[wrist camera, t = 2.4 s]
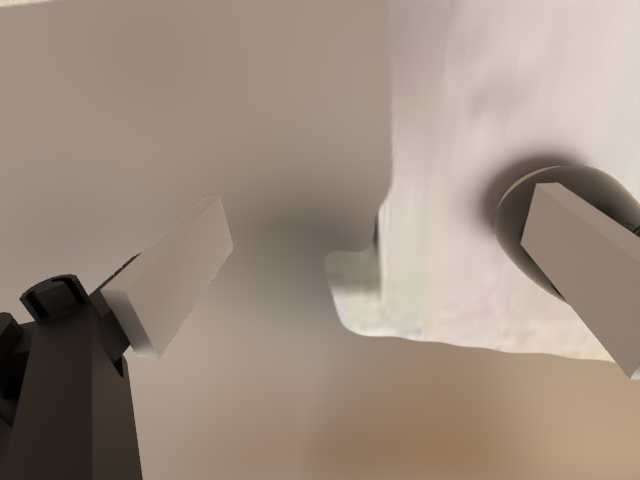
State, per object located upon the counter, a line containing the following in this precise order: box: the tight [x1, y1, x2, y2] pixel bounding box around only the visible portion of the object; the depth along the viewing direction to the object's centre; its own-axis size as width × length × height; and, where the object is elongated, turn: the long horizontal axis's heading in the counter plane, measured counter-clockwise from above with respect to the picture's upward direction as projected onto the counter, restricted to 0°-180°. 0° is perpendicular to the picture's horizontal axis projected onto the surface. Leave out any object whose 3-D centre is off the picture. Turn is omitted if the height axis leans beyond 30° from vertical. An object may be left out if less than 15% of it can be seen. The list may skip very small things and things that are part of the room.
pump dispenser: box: [494, 165, 640, 305], centre depth 26 cm, size 10×10×15 cm
